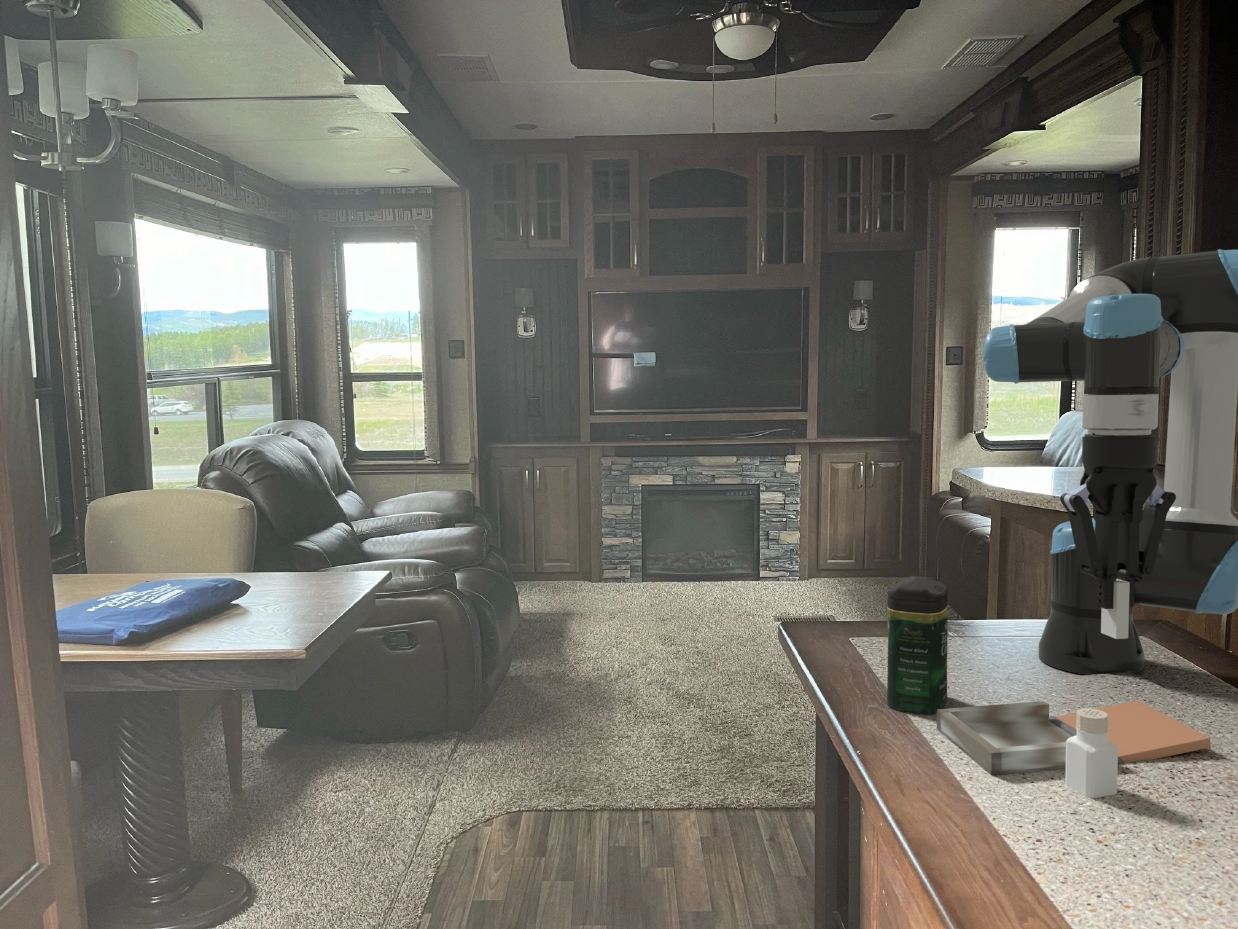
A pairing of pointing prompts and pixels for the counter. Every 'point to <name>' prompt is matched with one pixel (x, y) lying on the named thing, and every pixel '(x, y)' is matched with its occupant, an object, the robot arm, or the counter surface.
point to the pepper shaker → (1091, 756)
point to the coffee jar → (917, 645)
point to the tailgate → (1142, 732)
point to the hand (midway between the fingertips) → (1114, 635)
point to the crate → (1006, 737)
